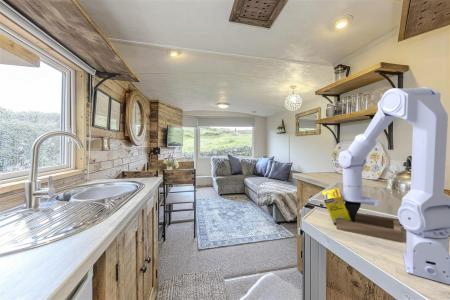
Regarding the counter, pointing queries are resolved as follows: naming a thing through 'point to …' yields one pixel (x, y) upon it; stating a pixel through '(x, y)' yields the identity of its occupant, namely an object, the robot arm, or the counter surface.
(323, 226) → the counter surface
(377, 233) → the brown wooden tray
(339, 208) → the supplement box
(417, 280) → the counter surface
